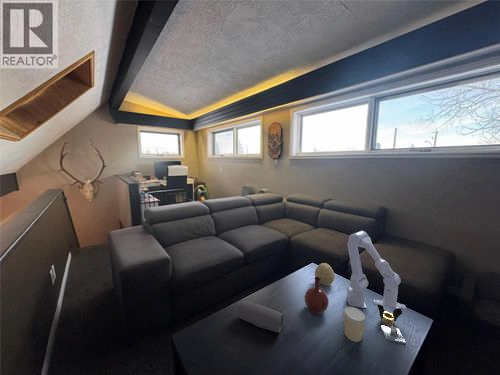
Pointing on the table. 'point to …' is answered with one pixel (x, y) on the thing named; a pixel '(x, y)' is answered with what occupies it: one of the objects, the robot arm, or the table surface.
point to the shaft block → (392, 334)
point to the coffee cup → (354, 323)
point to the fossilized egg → (324, 274)
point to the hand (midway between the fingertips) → (387, 318)
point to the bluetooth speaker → (260, 316)
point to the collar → (388, 318)
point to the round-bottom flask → (316, 298)
